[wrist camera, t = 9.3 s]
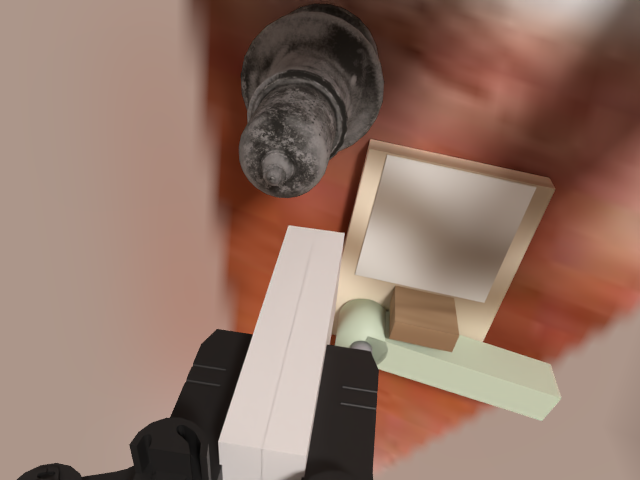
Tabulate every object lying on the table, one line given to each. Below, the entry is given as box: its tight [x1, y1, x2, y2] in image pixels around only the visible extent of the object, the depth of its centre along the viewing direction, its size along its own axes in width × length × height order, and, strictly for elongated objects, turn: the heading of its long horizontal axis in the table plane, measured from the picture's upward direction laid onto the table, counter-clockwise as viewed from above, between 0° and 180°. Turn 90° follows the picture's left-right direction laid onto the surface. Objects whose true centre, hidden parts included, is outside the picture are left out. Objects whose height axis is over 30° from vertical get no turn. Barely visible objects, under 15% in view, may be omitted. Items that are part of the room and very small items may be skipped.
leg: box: [335, 299, 561, 421], centre depth 30 cm, size 12×3×3 cm, turn 73°
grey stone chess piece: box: [239, 4, 384, 198], centre depth 20 cm, size 6×6×12 cm
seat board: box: [331, 139, 555, 352], centre depth 28 cm, size 12×9×4 cm
